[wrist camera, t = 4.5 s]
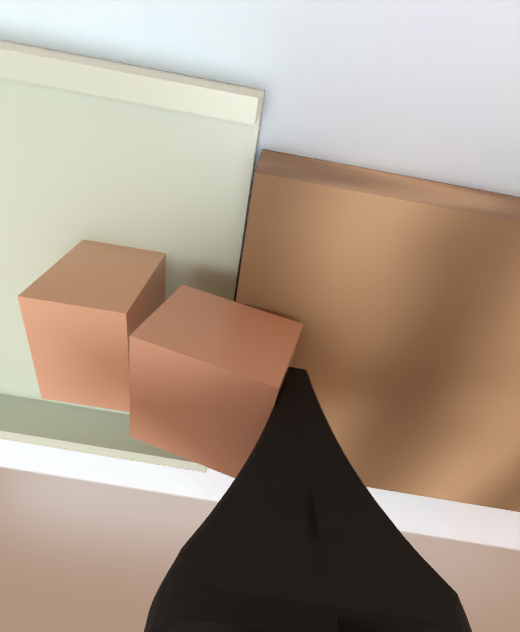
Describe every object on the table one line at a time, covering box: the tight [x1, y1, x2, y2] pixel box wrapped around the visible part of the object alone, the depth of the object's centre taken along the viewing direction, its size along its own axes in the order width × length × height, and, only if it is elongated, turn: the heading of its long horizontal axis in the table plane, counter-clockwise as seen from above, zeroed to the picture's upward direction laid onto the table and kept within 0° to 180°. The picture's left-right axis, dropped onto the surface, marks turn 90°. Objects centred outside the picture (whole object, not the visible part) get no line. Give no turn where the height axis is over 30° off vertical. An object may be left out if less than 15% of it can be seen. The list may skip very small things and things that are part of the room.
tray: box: [0, 40, 265, 472], centre depth 14 cm, size 13×15×2 cm
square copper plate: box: [236, 149, 520, 512], centre depth 15 cm, size 14×12×3 cm
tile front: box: [129, 285, 303, 478], centre depth 12 cm, size 4×4×3 cm
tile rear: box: [17, 240, 166, 412], centre depth 14 cm, size 4×4×3 cm
